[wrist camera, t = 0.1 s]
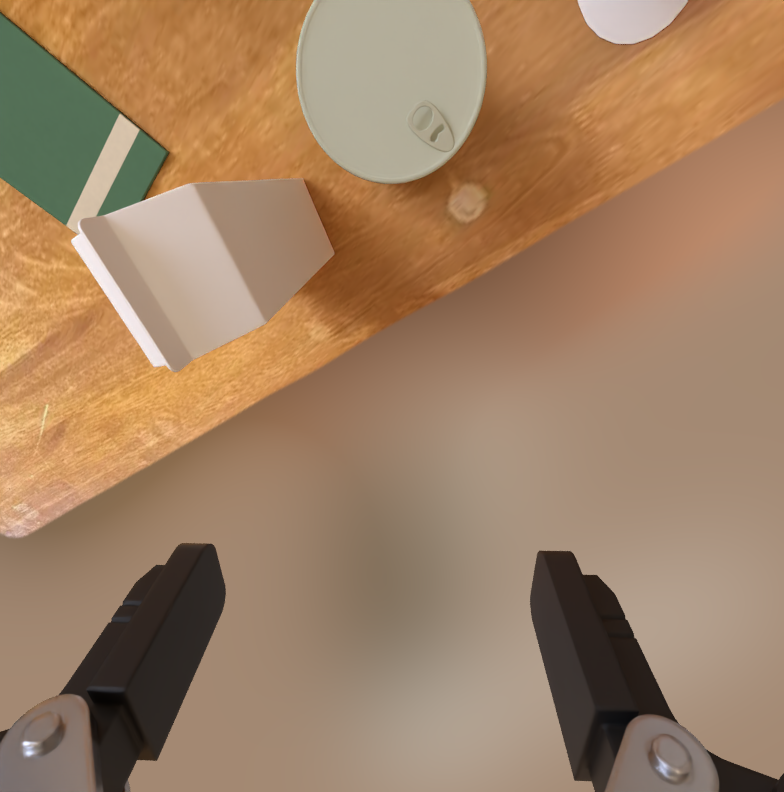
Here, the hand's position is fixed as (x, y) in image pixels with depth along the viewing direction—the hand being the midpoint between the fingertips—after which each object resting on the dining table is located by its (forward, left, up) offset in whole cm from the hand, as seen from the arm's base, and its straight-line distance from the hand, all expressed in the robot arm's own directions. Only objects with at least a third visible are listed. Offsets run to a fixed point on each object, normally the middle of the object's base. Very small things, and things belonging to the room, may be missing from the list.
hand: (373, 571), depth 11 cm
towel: (-14, -28, -29) cm, 43 cm away
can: (-13, 0, -30) cm, 32 cm away
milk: (-5, -9, -30) cm, 31 cm away
